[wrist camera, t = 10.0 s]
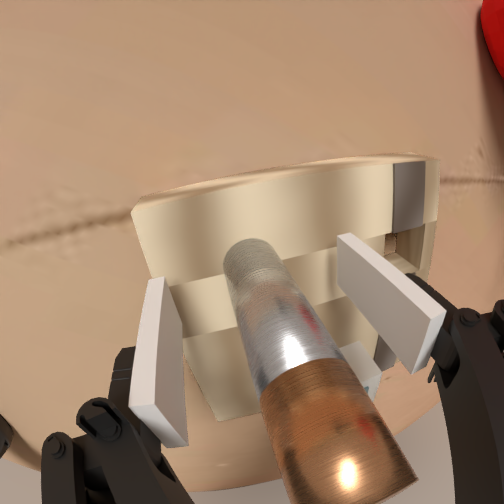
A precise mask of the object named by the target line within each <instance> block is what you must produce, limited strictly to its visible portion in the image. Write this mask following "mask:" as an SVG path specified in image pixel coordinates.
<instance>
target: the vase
mask: <svg viewBox="0 0 504 504" xmlns="http://www.w3.org/2000/svg"><path fill="white" fill-rule="evenodd" d="M481 25H482V29H483V33H484V37H485V40H486V43H487V46H488V49H489V52H490V54H491V57H492V59H493V62H494V64H495V66H496V68H497V70H498V72H499V73H500V75H501V77H502V78H503V80H504V0H483V3H482V8H481Z"/></svg>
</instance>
